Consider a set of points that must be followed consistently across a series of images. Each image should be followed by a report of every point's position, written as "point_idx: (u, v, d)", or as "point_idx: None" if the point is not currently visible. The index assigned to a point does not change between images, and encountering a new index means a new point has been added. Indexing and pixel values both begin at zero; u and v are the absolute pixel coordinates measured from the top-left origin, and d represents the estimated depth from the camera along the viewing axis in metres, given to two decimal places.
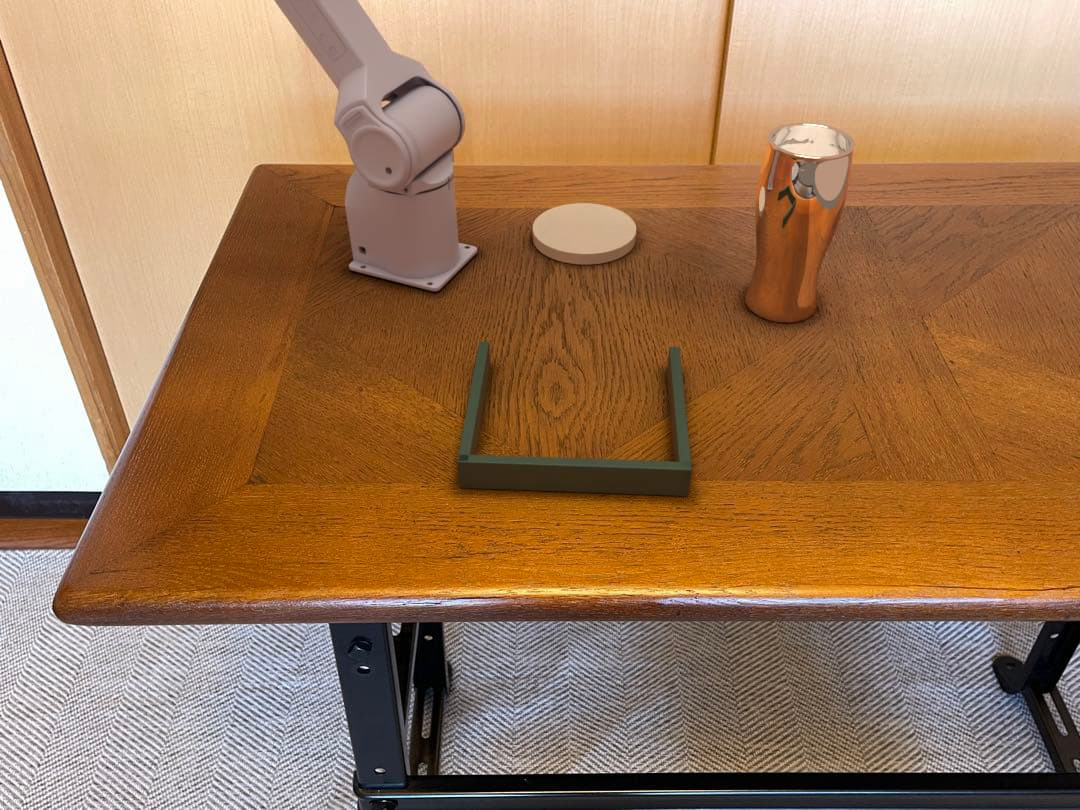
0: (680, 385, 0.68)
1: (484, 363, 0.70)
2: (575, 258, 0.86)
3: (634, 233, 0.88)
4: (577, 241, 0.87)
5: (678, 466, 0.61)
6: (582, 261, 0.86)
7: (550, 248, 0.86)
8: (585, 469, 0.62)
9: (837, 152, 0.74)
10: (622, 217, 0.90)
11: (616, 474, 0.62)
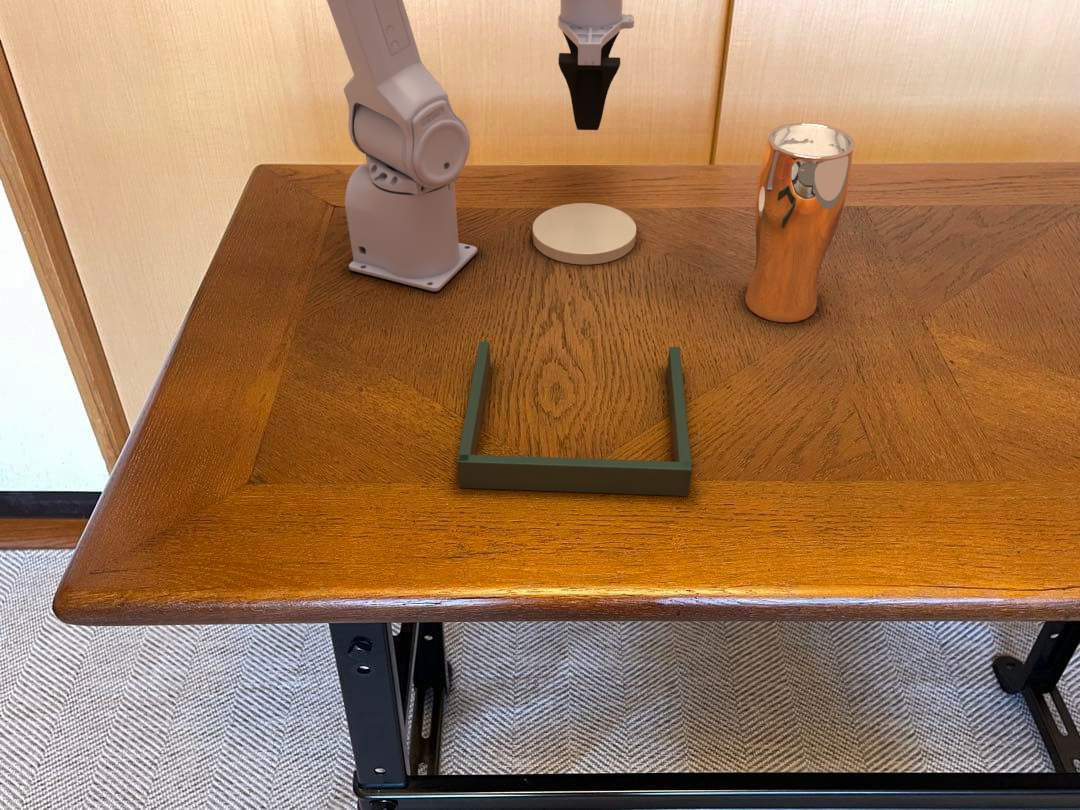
0: (680, 385, 0.68)
1: (484, 363, 0.70)
2: (575, 258, 0.86)
3: (634, 233, 0.88)
4: (577, 241, 0.87)
5: (678, 466, 0.61)
6: (582, 261, 0.86)
7: (550, 248, 0.86)
8: (585, 469, 0.62)
9: (837, 152, 0.74)
10: (622, 217, 0.90)
11: (616, 474, 0.62)
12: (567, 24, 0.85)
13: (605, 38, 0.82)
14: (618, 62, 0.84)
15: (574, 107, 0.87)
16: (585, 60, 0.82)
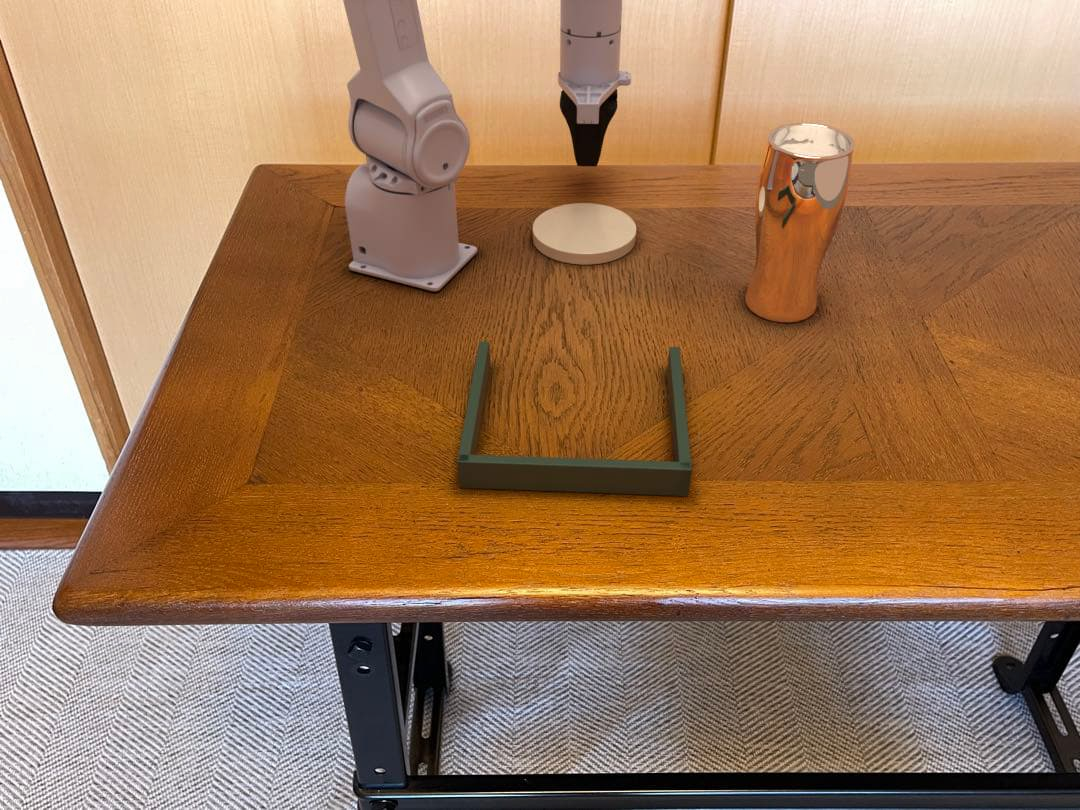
0: (680, 385, 0.68)
1: (484, 363, 0.70)
2: (575, 258, 0.86)
3: (634, 233, 0.88)
4: (577, 241, 0.87)
5: (678, 466, 0.61)
6: (582, 261, 0.86)
7: (550, 248, 0.86)
8: (585, 469, 0.62)
9: (837, 152, 0.74)
10: (622, 217, 0.90)
11: (616, 474, 0.62)
12: (566, 82, 0.88)
13: (603, 97, 0.86)
14: (615, 105, 0.90)
15: (574, 146, 0.93)
16: (584, 119, 0.85)
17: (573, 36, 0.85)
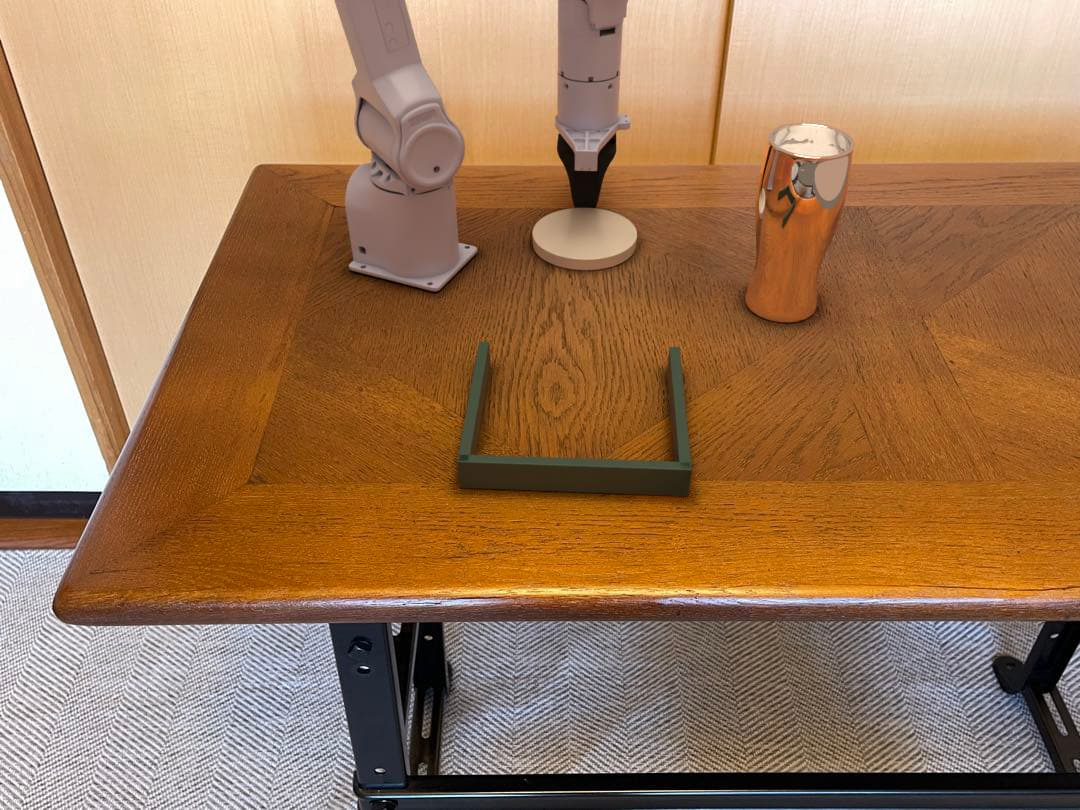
0: (680, 385, 0.68)
1: (484, 363, 0.70)
2: (575, 263, 0.85)
3: (635, 238, 0.87)
4: (578, 247, 0.86)
5: (678, 466, 0.61)
6: (583, 266, 0.85)
7: (550, 254, 0.85)
8: (585, 469, 0.62)
9: (837, 152, 0.74)
10: (623, 222, 0.90)
11: (616, 474, 0.62)
12: (564, 127, 0.85)
13: (602, 143, 0.83)
14: (614, 149, 0.87)
15: (572, 189, 0.91)
16: (582, 166, 0.82)
17: (571, 80, 0.82)
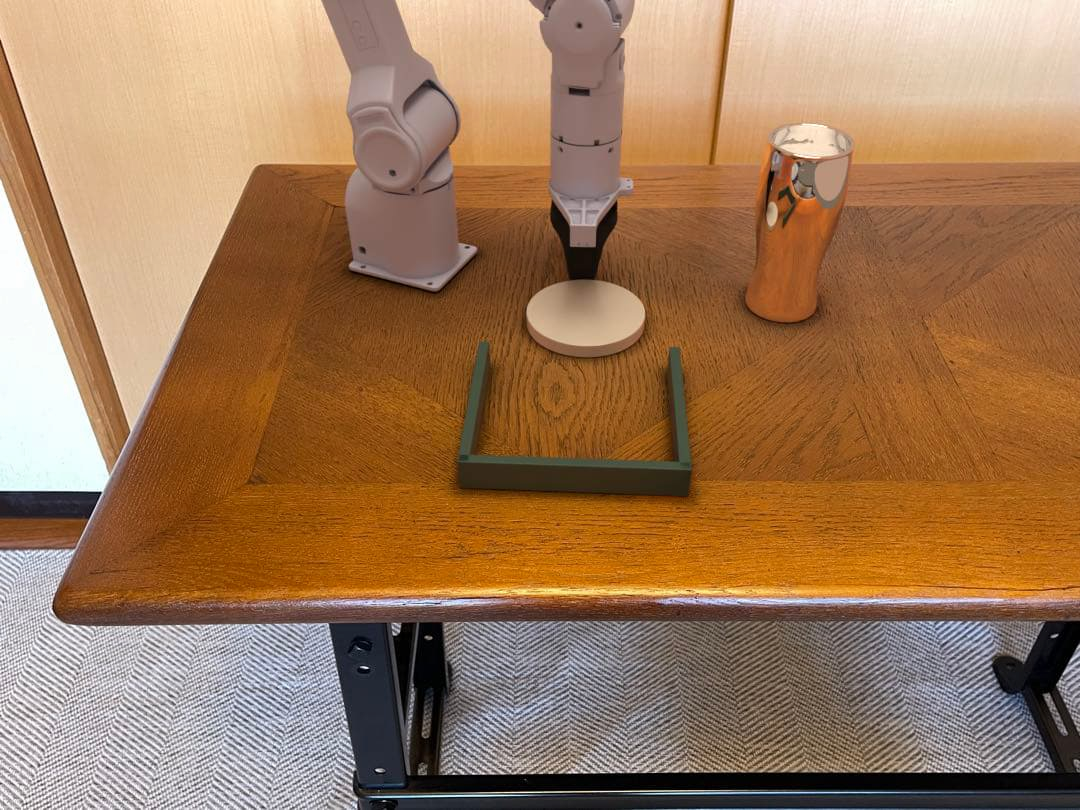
0: (680, 385, 0.68)
1: (484, 363, 0.70)
2: (579, 350, 0.74)
3: (643, 317, 0.77)
4: (580, 330, 0.76)
5: (678, 466, 0.61)
6: (588, 353, 0.75)
7: (550, 339, 0.75)
8: (585, 469, 0.62)
9: (837, 152, 0.74)
10: (627, 296, 0.79)
11: (616, 474, 0.62)
12: (558, 194, 0.75)
13: (601, 215, 0.73)
14: (615, 218, 0.77)
15: (567, 260, 0.80)
16: (578, 242, 0.72)
17: (565, 144, 0.72)
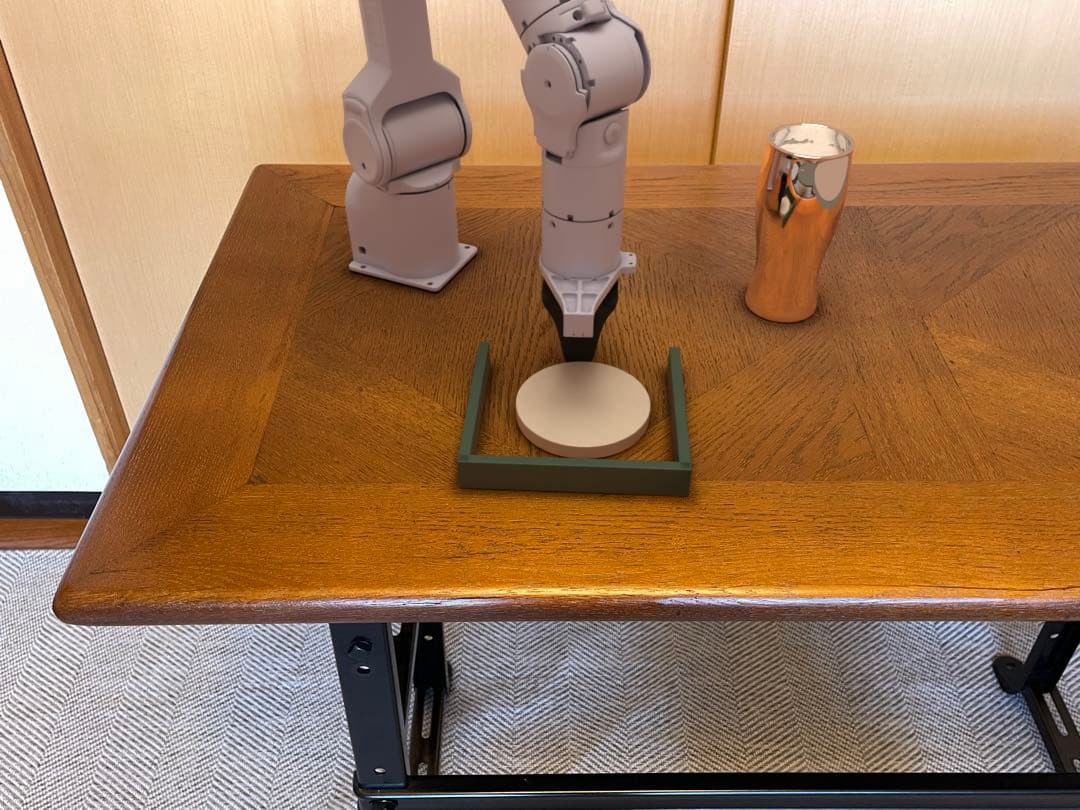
0: (680, 385, 0.68)
1: (484, 363, 0.70)
2: (575, 451, 0.65)
3: (648, 409, 0.68)
4: (577, 426, 0.66)
5: (678, 466, 0.61)
6: (586, 455, 0.65)
7: (542, 439, 0.66)
8: (585, 469, 0.62)
9: (837, 152, 0.74)
10: (629, 383, 0.70)
11: (616, 474, 0.62)
12: (550, 272, 0.66)
13: (600, 300, 0.63)
14: (615, 297, 0.67)
15: (562, 341, 0.71)
16: (573, 332, 0.63)
17: (559, 219, 0.63)
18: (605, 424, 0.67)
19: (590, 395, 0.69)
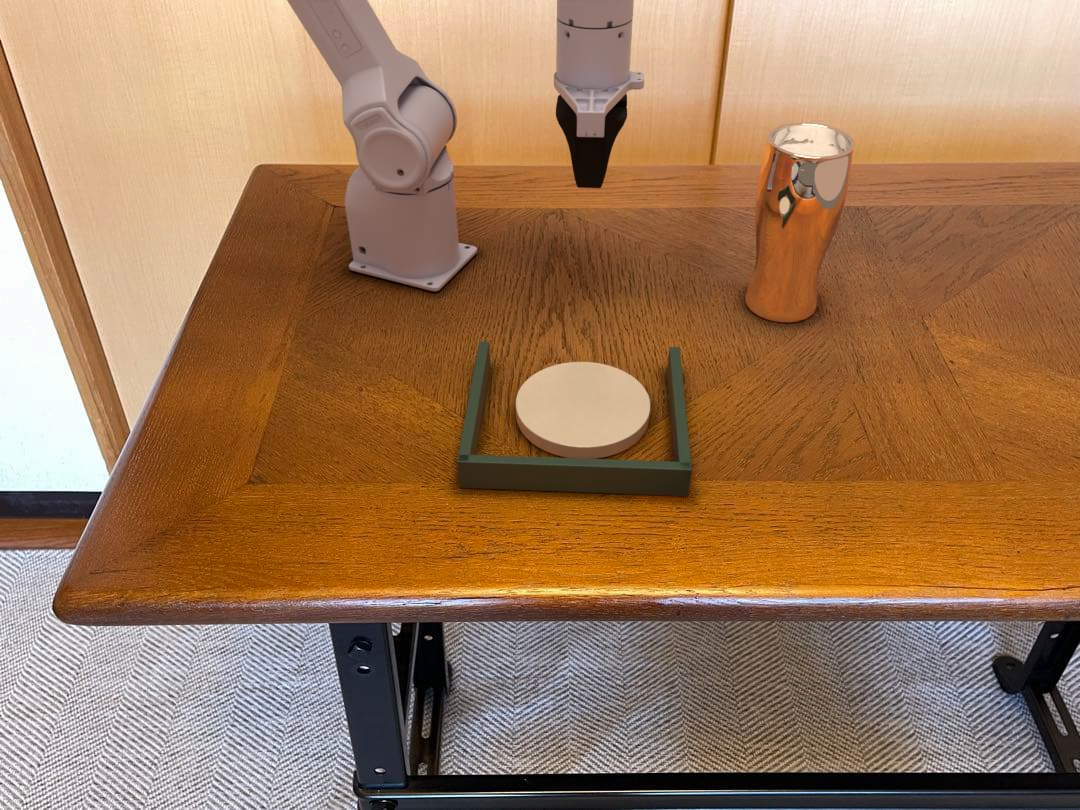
0: (680, 385, 0.68)
1: (484, 363, 0.70)
2: (575, 452, 0.65)
3: (648, 409, 0.68)
4: (577, 426, 0.66)
5: (678, 466, 0.61)
6: (586, 455, 0.65)
7: (542, 439, 0.66)
8: (585, 469, 0.62)
9: (837, 152, 0.74)
10: (629, 383, 0.70)
11: (616, 474, 0.62)
12: (564, 85, 0.71)
13: (610, 104, 0.69)
14: (625, 114, 0.72)
15: (574, 163, 0.76)
16: (585, 131, 0.68)
17: (573, 27, 0.68)
18: (605, 424, 0.67)
19: (590, 395, 0.69)
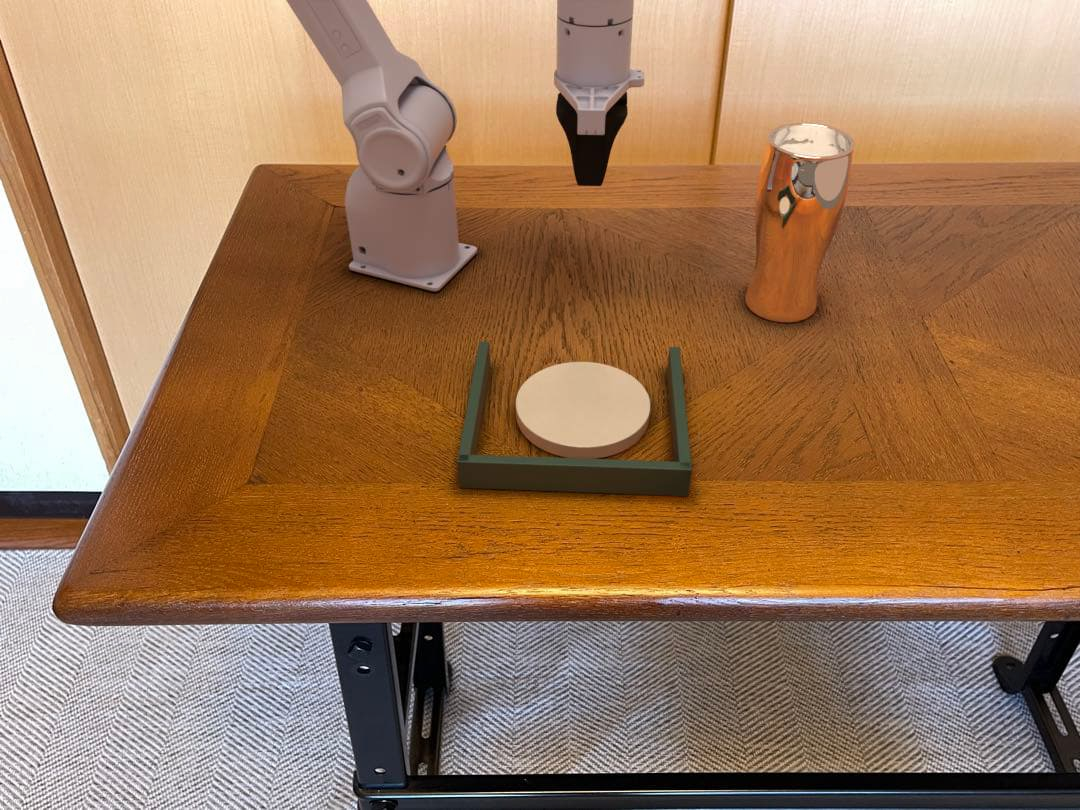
0: (680, 385, 0.68)
1: (484, 363, 0.70)
2: (575, 452, 0.65)
3: (648, 409, 0.68)
4: (577, 426, 0.66)
5: (678, 466, 0.61)
6: (586, 455, 0.65)
7: (542, 439, 0.66)
8: (585, 469, 0.62)
9: (837, 152, 0.74)
10: (629, 383, 0.70)
11: (616, 474, 0.62)
12: (564, 83, 0.71)
13: (611, 102, 0.69)
14: (625, 111, 0.72)
15: (574, 161, 0.76)
16: (586, 129, 0.68)
17: (573, 25, 0.68)
18: (605, 424, 0.67)
19: (590, 395, 0.69)
